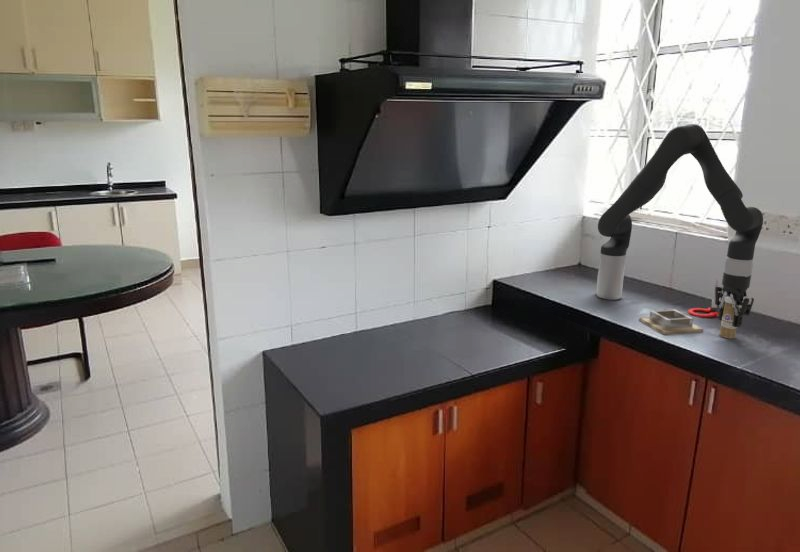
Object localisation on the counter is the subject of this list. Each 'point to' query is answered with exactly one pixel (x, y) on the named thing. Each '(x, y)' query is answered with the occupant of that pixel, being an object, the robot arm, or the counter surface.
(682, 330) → the keeper
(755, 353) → the counter surface
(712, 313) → the tow hook
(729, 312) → the sprinkles bottle
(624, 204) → the robot arm
